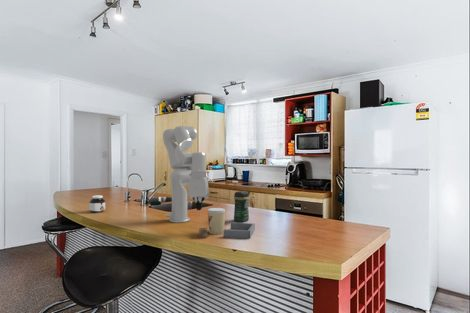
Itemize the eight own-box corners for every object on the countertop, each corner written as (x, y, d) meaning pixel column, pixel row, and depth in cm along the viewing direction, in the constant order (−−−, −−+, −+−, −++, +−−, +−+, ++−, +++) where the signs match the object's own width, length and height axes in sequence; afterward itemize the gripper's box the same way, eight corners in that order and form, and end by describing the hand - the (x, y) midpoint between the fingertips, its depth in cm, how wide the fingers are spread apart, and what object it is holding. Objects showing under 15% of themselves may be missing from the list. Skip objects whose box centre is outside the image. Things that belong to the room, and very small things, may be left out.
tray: (223, 236, 136) (223, 229, 136) (231, 228, 152) (231, 222, 152) (250, 238, 133) (250, 231, 133) (254, 230, 149) (254, 223, 149)
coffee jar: (242, 223, 166) (242, 192, 166) (231, 221, 170) (231, 191, 170) (251, 220, 174) (251, 190, 174) (240, 218, 178) (240, 189, 178)
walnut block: (199, 238, 134) (199, 230, 134) (199, 236, 138) (199, 228, 138) (207, 238, 134) (207, 229, 134) (207, 235, 138) (207, 227, 138)
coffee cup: (207, 229, 149) (207, 207, 149) (224, 229, 150) (224, 207, 150) (207, 234, 140) (207, 211, 140) (225, 234, 141) (225, 210, 141)
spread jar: (93, 213, 193) (93, 197, 193) (84, 212, 200) (84, 195, 200) (109, 211, 203) (109, 195, 204) (100, 209, 210) (100, 194, 210)
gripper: (182, 175, 145) (183, 210, 145) (210, 175, 142) (210, 211, 141) (188, 175, 153) (188, 208, 152) (214, 175, 149) (214, 209, 149)
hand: (199, 209), depth 147 cm, fingers closed
